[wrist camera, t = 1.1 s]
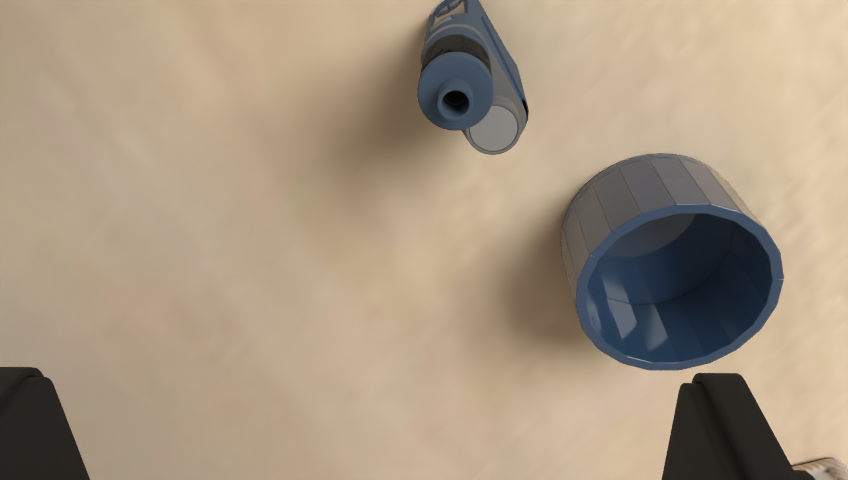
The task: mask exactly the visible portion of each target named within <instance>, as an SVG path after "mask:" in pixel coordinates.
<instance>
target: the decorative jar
mask: <svg viewBox="0 0 848 480" xmlns="http://www.w3.org/2000/svg"><path fill="white" fill-rule="evenodd" d="M792 468H793V470H804V471H807V472H808V473H809V474H811V475H812V476H813V477H814V478H815V480H848V470H847V469H846V467H845V466H844V465H843V464H842V463H841V462H840V461H839V460H837V459H835V458H827V459H822V460H818V461H815V462H810V463H806V464H802V465H797V466H792Z"/></svg>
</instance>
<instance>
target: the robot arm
mask: <svg viewBox="0 0 848 480" xmlns="http://www.w3.org/2000/svg"><path fill="white" fill-rule="evenodd" d="M0 480H90V478H89V476H88V473H87V471H86V468H85V465H84V463H83V460H82V458H81V455H80V452H79V450H78V447H77V445H76V442H75V439H74V437H73V434H72V432H71V429H70V426H69V424H68V421H67V419H66V416H65V413H64V411H63V408H62V406H61V403H60V400H59V398H58V395H57V393H56V390H55V387H54V385H53V383H52V381H51V380H50V379H49V378H47V377H44V376H43V374H42V373H41V371H40V370H38V369H37V368H33V367H0ZM662 480H815V478H814V477H813V476H812V475H811V474H809V473H808V472H807V471H804V470H793V468H792V466H791V465H790V463H789V461H788V459H787V457H786V455H785V454H784V452H783V450H782V448H781V446H780V444H779V443H778V441H777V439H776V437H775V435H774V433H773V431H772V430H771V428H770V426H769V424H768V422H767V420H766V419H765V417H764V415H763V413H762V411H761V409H760V408H759V406H758V404H757V402H756V400H755V398H754V396H753V395H752V393H751V391H750V389H749V387H748V385H747V384H746V382H745V380H744V379H743V377H742V376H741V375H739V374H738V373H698V374H696V375H695V376H694V378H693V381H692V383H683V384H682V385H681V386H680V390H679V394H678V399H677V404H676V410H675V415H674V420H673V425H672V430H671V435H670V440H669V445H668V451H667V456H666V461H665V466H664V471H663V476H662Z"/></svg>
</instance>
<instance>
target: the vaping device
mask: <svg viewBox="0 0 848 480" xmlns="http://www.w3.org/2000/svg"><path fill="white" fill-rule="evenodd" d="M421 64H422V69H421V74H420V79H419V85H418V102H419V105H420V108H421V110H422V112H423V113H424V115H425V116H426V117H427V118H428V119H429V120H430V121H431V122H432V123H433V124H435V125H437V126H439V127H441V128H443V129H448V130H462V132H463V133H464V135H465V137H466V138H467V140H468V141H469V142H470V144H471V145H472V146H473V147H474V148H475V149H476V150H478V151H480V152H482V153H485V154H490V155H496V154H501V153H504V152H506V151H508V150H509V149H511V148H512V147H513V146H514V145H515V144H516V143H517V141H518V139H519V137H520V135H521V133H522V132H523V130H524V128H525V126H526V123H527V121H528V112H529V110H528V106H527V102H526V98H525V94H524V91H523V87H522V83H521V79H520V75H519V71H518V68H517V65H516V64H515V62H514V61H513V59H512V58H511V56H510V55H509V53H508V51H507V50H506V48H505V46H504V44H503V43H502V41H501V39H500V37H499V36H498V34H497V32H496V30H495V29H494V27H493V25H492V23H491V22H490V20H489V18H488V16H487V15H486V13H485V11H484V9H483V8H482V6H481V4H480V2H479V1H478V0H445V1H443V2H442V3H441V4H440V5H439V6H438V7H437V8H436V10H435V12H434V14H433V15H430V18H429V23H428V28H427V33H426V38H425V43H424V47H423V50H422V54H421Z"/></svg>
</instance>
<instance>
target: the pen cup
mask: <svg viewBox="0 0 848 480" xmlns="http://www.w3.org/2000/svg"><path fill="white" fill-rule="evenodd" d="M561 248H562V257H563V261H564V265H565V269H566V273H567V277H568V281H569V285H570V288H571V292H572V296H573V300H574V304H575V308H576V311H577V315H578V318H579V321H580V324H581V327H582V329H583V331H584V332H585V334H586V335H587V336H588V337H589V338H590V340H591V341H592V342H593V343H594V344H595V346H596V347H597V348H598V349H599V350H600V351H602V352H604V353H605V354H607V355H609V356H610V357H612V358H614V359H615V360H617V361H619V362H620V363H623V364H626V365H630V366H634V367H638V368H642V369H646V370H683V369H687V368H691V367H695V366H700V365H704V364H708V363H711V362H713V361H715V360H717V359H719V358H721V357H723V356H725V355H727V354H729V353H731V352H733V351H735V350H737V349H738V348H740V347H741V346H742V345H743V344H744V343H746V342H747V341H748V340H749V339H750V338H751V337H753V336H754V335H755V334H756V333H757V332H758V331H760V329H762V327H763V326H764V324H765V323H766V321H767V320H768V318H769V317H770V315H771V314H772V312H773V311H774V309H775V308H776V305H777V303H778V299H779V296H780V292H781V288H782V284H783V280H784V275H783V268H782V261H781V253H780V251H779V249H778V248H777V246H776V244H775V243H774V241H773V240H772V238H771V236H770V235H769V233H768V232H767V230H766V229H765V227H764V226H763V225H762V224H761V222H760V221H759V220H758V219H757V218H756V216H755V215H754V214H753V213H752V211H751V210H750V209H749V208H748V206H747V205H746V204H745V203H744V201H743V200H742V199H741V198H740V197H739V195H738V194H737V193H736V192H735V190H734V189H733V188H732V187H731V185H730V184H729V183H728V182H727V181H726V180H725V179H724V178H723V177H722V176H721V175H720V174H718V173H717V172H716V171H715V170H714V169H712V168H711V167H709V166H708V165H706V164H704V163H702V162H700V161H698V160H696V159H693V158H689V157H686V156H681V155H675V154H661V153H659V154H647V155H642V156H637V157H633V158H630V159H627V160H624V161H621V162H619V163H617V164H614V165H612V166H610V167H609V168H607V169H605V170H604V171H602V172H600V173H599V174H598V175H596V176H595V177H594V178H592V179H591V180H590V181H589V182H588V183H587V184H586V185H585V186H584V187H583V188H582V189H581V190H580V192H579V193H578V194H577V195H576V197H575V198H574V200H573V201H572V203H571V205H570V206H569V208H568V211H567V213H566V215H565V218H564V222H563V225H562V231H561Z"/></svg>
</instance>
